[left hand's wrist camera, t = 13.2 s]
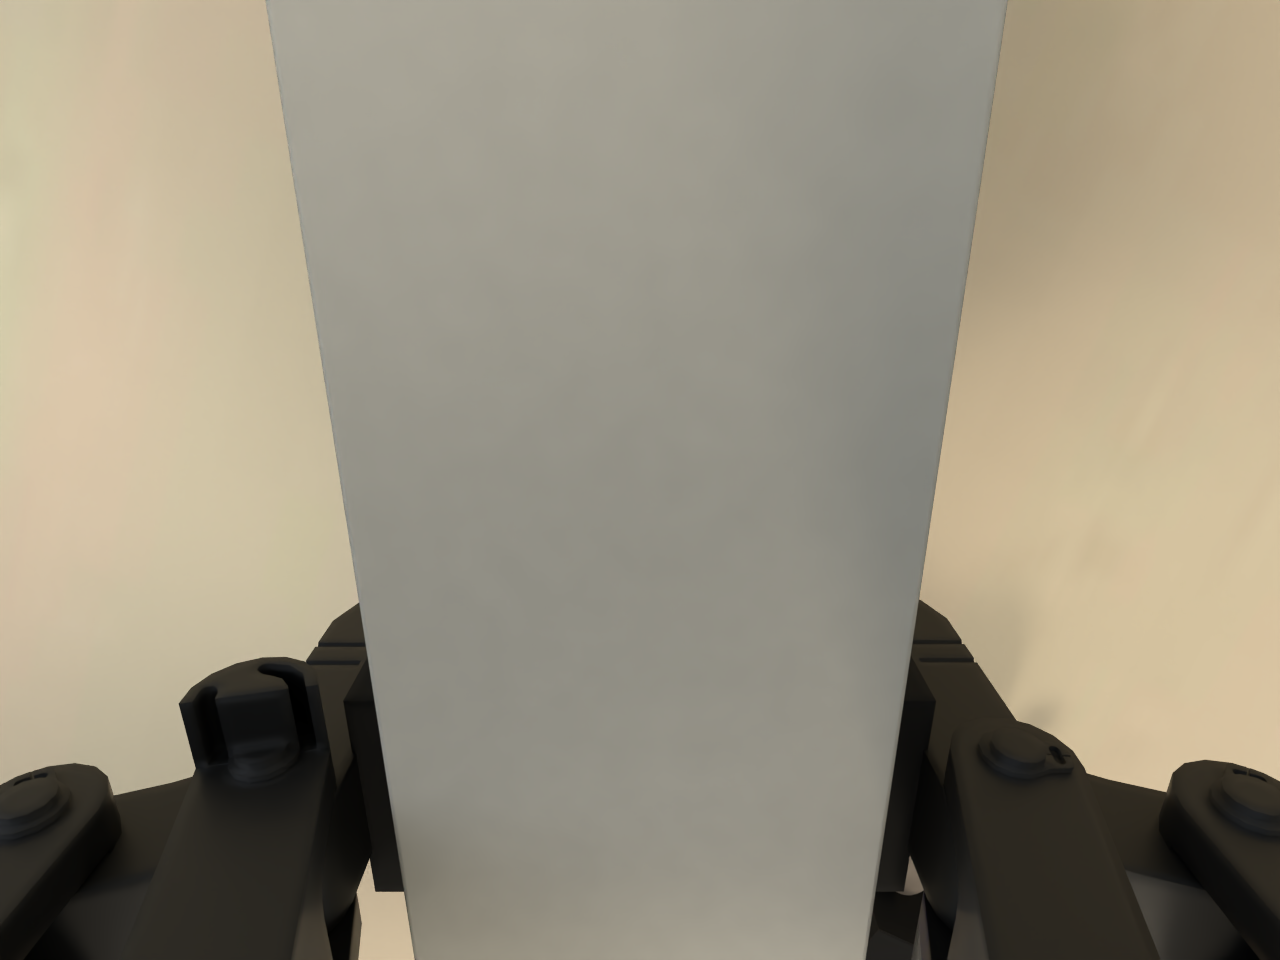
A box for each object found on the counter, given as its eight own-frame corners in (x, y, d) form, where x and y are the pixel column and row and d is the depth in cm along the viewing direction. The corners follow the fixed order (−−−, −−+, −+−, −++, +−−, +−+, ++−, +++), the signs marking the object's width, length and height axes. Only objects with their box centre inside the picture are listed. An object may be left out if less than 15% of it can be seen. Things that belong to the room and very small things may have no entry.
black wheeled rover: (854, 688, 29) (666, 976, 33) (938, 831, 22) (686, 1183, 25) (999, 754, 30) (804, 1026, 34) (1125, 912, 23) (860, 1238, 26)
